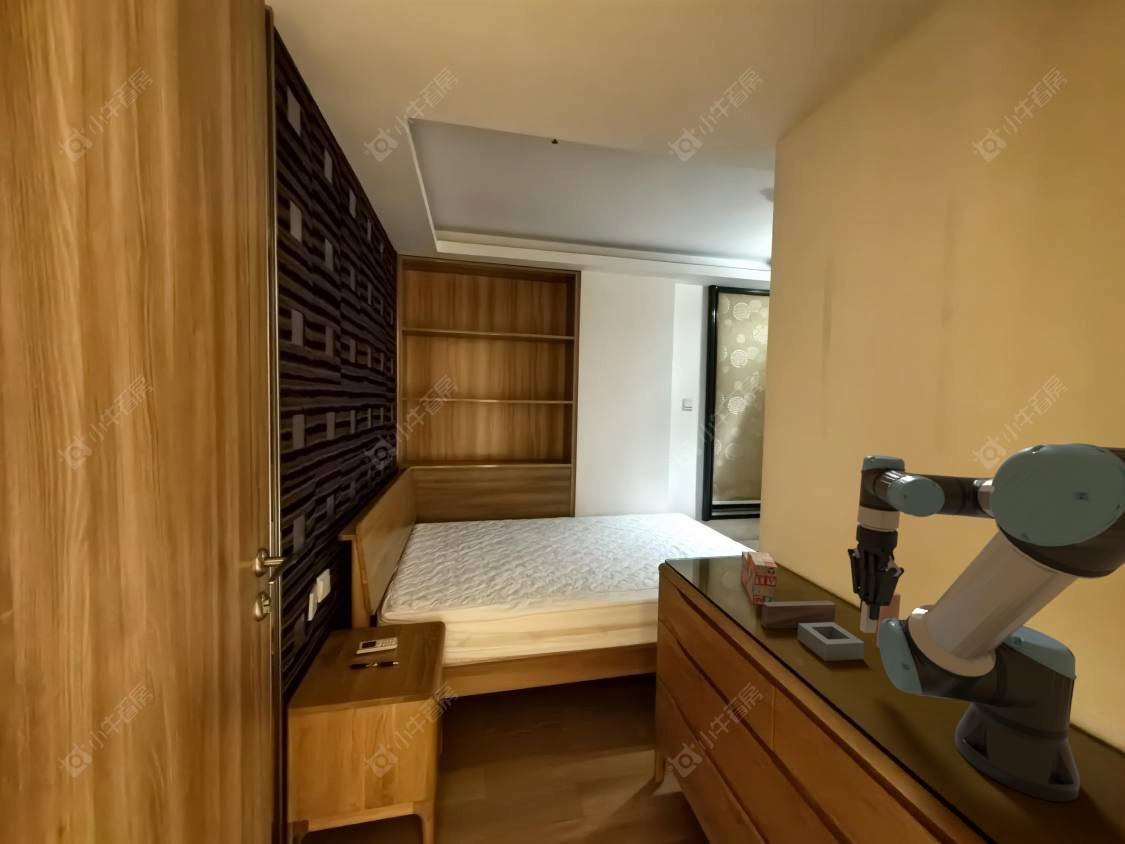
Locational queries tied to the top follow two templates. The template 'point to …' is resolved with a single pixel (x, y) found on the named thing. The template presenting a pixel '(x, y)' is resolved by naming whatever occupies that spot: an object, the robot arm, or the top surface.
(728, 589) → the top surface
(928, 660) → the robot arm
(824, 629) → the grey square frame
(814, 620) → the wall
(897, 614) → the dowel
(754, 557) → the stack of blocks
